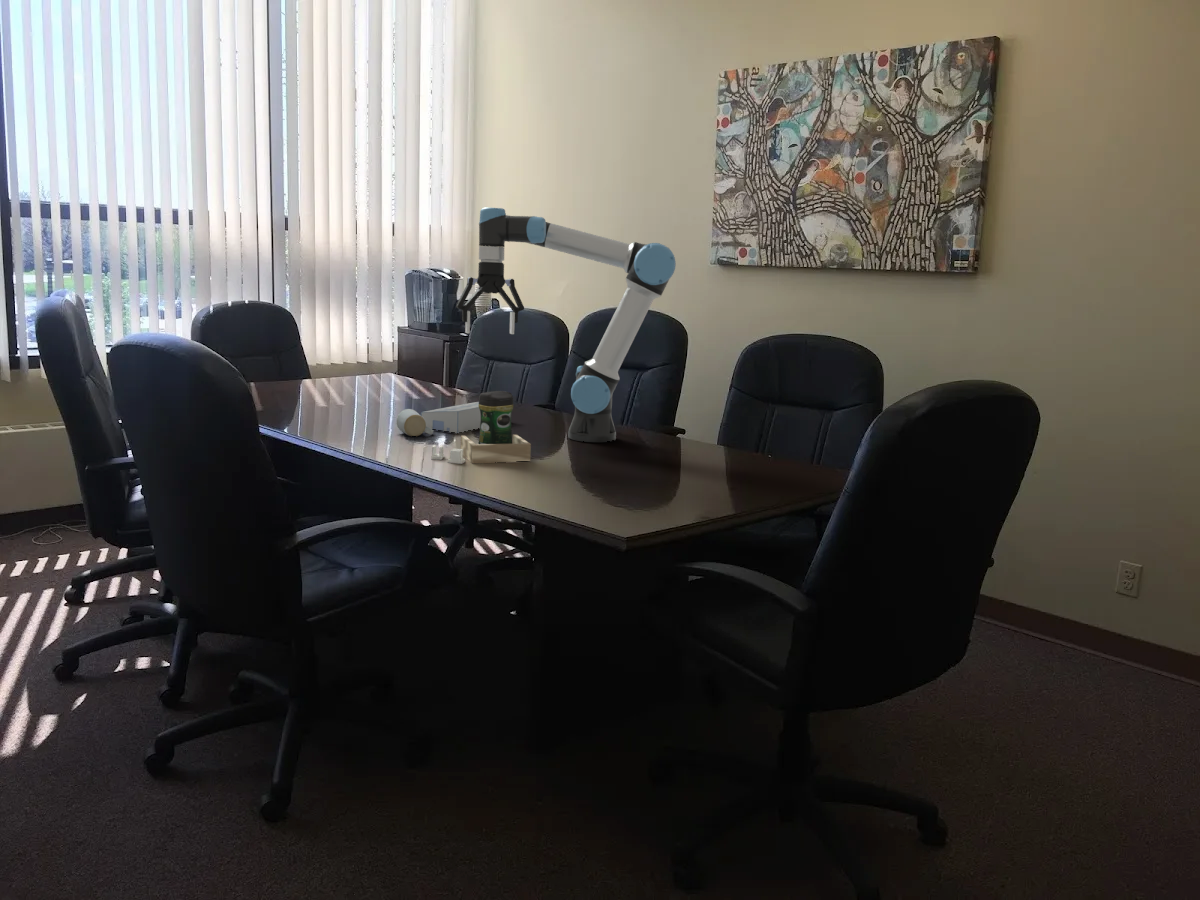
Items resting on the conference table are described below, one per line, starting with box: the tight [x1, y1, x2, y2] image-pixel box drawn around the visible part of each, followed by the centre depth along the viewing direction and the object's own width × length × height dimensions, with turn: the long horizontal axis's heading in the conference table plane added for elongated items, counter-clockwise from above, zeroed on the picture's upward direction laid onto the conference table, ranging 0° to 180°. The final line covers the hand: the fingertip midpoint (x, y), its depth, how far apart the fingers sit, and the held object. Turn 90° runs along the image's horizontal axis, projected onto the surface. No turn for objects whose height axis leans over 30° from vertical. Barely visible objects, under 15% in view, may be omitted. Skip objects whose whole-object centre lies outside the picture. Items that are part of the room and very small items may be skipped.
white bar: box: [420, 401, 481, 434], centre depth 321 cm, size 30×14×8 cm, turn 153°
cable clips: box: [430, 444, 466, 465], centre depth 264 cm, size 5×12×3 cm, turn 57°
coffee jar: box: [477, 390, 514, 444], centre depth 270 cm, size 10×8×19 cm
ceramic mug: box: [396, 408, 435, 437], centre depth 299 cm, size 11×8×8 cm
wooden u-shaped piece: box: [460, 434, 532, 464], centre depth 270 cm, size 15×16×5 cm
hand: (489, 333), depth 289 cm, fingers open, 13 cm apart
